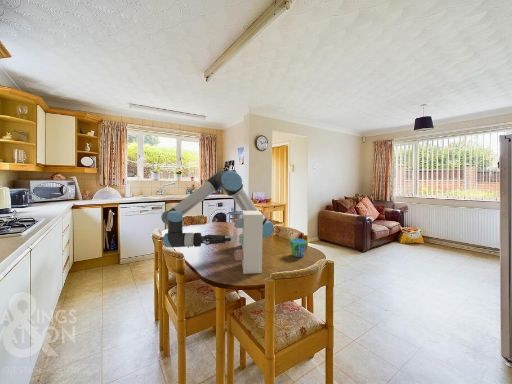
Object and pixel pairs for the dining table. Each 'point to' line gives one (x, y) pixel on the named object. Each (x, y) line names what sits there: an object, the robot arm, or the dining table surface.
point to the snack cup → (298, 247)
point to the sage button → (241, 238)
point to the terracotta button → (238, 254)
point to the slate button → (238, 223)
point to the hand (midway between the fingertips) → (236, 238)
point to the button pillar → (252, 241)
